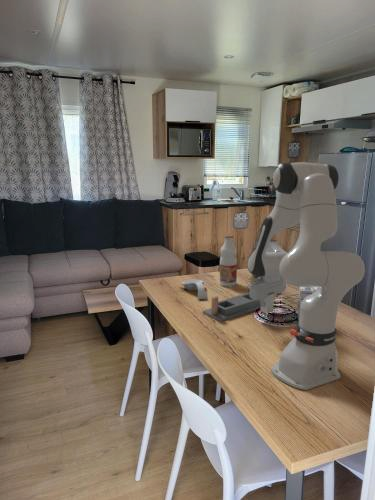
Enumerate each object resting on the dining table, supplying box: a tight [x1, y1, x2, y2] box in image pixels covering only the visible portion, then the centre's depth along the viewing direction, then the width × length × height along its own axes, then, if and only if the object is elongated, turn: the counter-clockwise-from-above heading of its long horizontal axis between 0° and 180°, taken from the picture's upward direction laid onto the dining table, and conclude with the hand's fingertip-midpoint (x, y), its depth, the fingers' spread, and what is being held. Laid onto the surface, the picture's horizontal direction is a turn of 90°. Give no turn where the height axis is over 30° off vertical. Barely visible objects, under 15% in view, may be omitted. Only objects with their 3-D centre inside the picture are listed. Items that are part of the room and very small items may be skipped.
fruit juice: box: [219, 234, 238, 288], centre depth 201 cm, size 9×9×28 cm
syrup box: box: [297, 286, 315, 322], centre depth 154 cm, size 6×6×14 cm
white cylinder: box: [259, 292, 275, 313], centre depth 164 cm, size 4×4×10 cm
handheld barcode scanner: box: [181, 279, 208, 301], centre depth 191 cm, size 24×12×7 cm, turn 16°
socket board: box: [202, 291, 261, 322], centre depth 169 cm, size 33×12×9 cm, turn 126°
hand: (267, 304), depth 164 cm, fingers closed on white cylinder, 4 cm apart
